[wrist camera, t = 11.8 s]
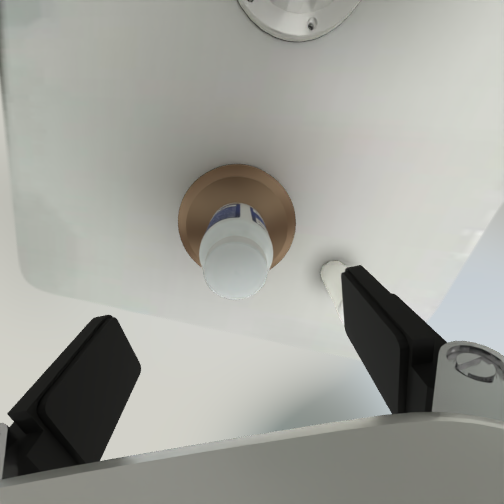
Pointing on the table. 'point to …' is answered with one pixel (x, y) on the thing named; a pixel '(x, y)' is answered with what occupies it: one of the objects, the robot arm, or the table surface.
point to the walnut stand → (237, 191)
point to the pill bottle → (236, 252)
